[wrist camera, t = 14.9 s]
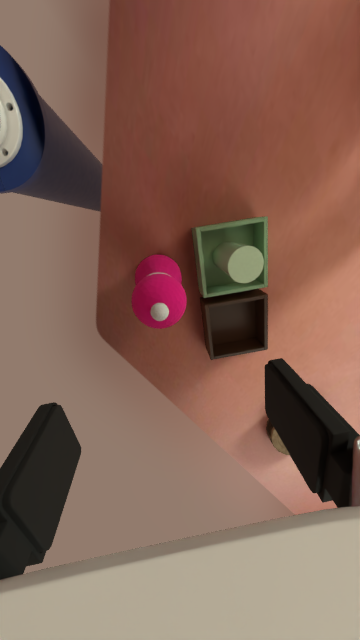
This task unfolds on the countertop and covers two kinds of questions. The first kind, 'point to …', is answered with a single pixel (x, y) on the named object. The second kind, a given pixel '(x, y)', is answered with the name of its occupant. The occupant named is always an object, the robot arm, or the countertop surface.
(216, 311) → the brown bin
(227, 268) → the pale green plastic cylinder
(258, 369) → the countertop surface
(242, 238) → the sage bin
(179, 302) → the pepper mill
